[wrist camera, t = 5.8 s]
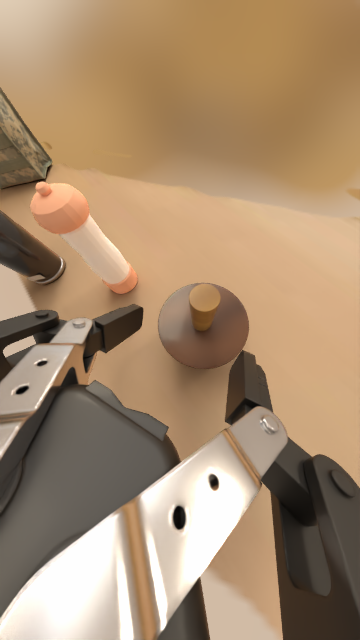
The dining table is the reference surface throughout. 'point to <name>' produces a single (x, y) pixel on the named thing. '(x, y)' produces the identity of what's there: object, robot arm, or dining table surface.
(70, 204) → the pepper shaker
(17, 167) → the lunch bag
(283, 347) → the dining table surface
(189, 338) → the lid
